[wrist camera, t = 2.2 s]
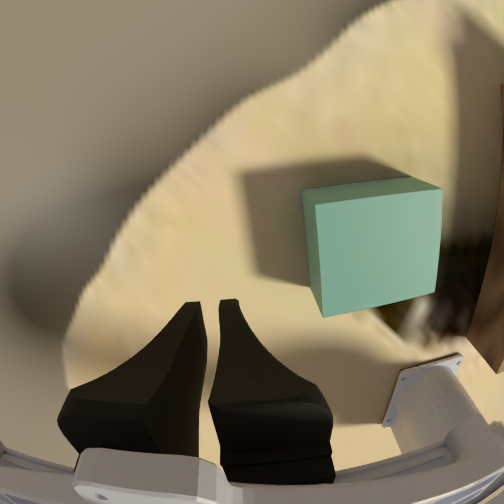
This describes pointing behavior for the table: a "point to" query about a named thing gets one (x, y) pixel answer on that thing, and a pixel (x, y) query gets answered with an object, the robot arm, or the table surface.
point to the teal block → (371, 242)
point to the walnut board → (492, 292)
